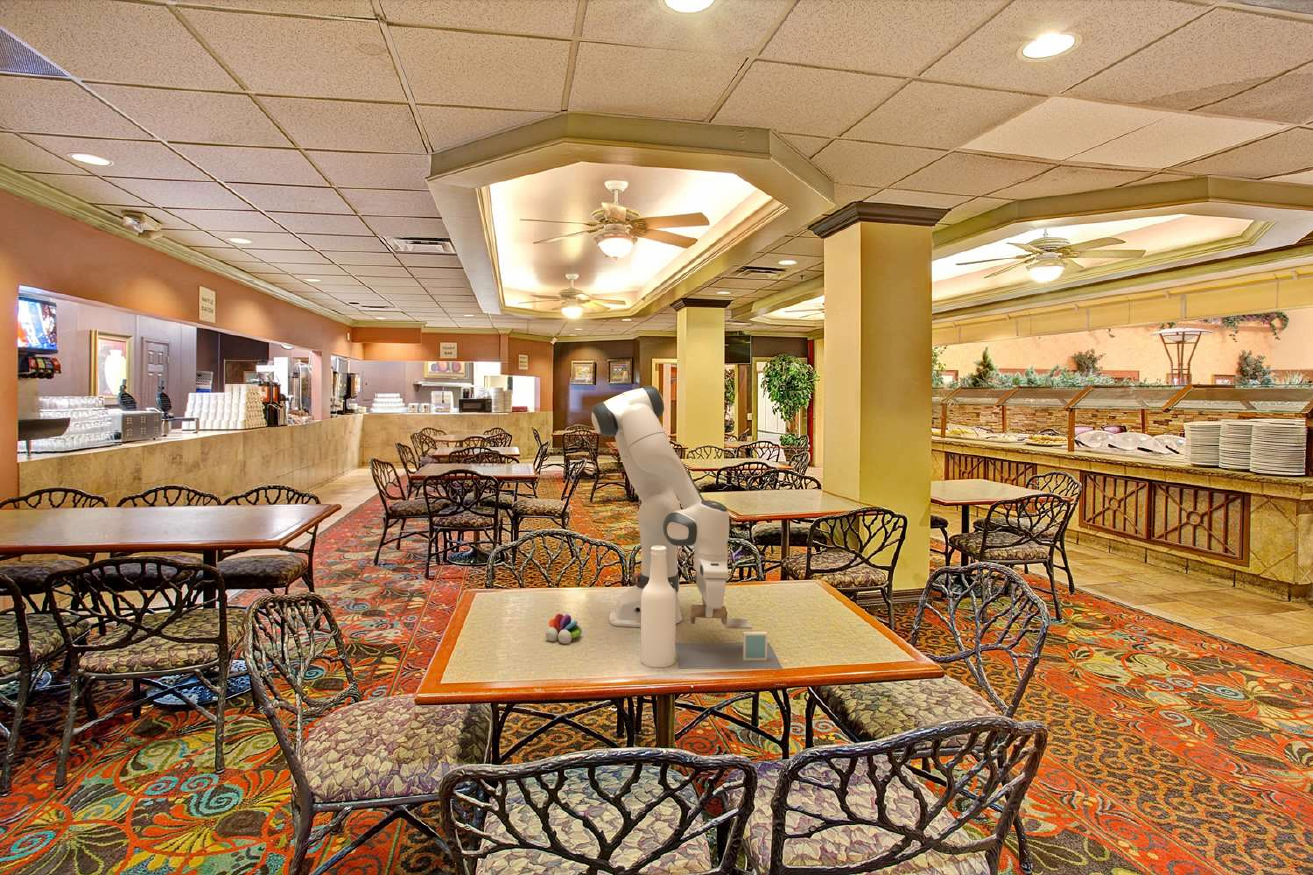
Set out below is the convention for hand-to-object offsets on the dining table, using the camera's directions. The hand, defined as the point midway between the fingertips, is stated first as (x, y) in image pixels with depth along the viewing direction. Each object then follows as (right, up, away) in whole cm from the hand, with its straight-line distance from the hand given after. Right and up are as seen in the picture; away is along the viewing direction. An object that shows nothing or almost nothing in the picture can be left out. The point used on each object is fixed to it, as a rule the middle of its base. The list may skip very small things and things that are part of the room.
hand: (707, 614), depth 174 cm
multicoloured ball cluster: (-40, -10, +11) cm, 42 cm away
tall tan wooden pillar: (+3, -3, +1) cm, 4 cm away
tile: (+12, -10, -5) cm, 16 cm away
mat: (+5, -11, -2) cm, 12 cm away
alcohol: (-13, -11, -6) cm, 18 cm away
